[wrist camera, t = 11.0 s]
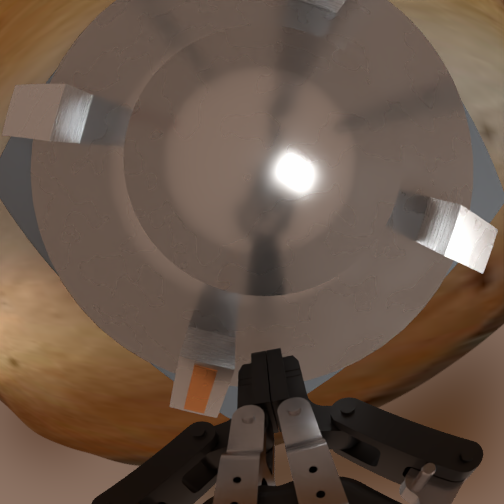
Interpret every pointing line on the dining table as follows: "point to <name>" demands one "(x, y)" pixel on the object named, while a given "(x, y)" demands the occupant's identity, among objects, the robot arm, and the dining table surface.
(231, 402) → the base plate
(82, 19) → the dining table surface
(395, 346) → the dining table surface
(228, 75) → the clamped metal dish
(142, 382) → the dining table surface
